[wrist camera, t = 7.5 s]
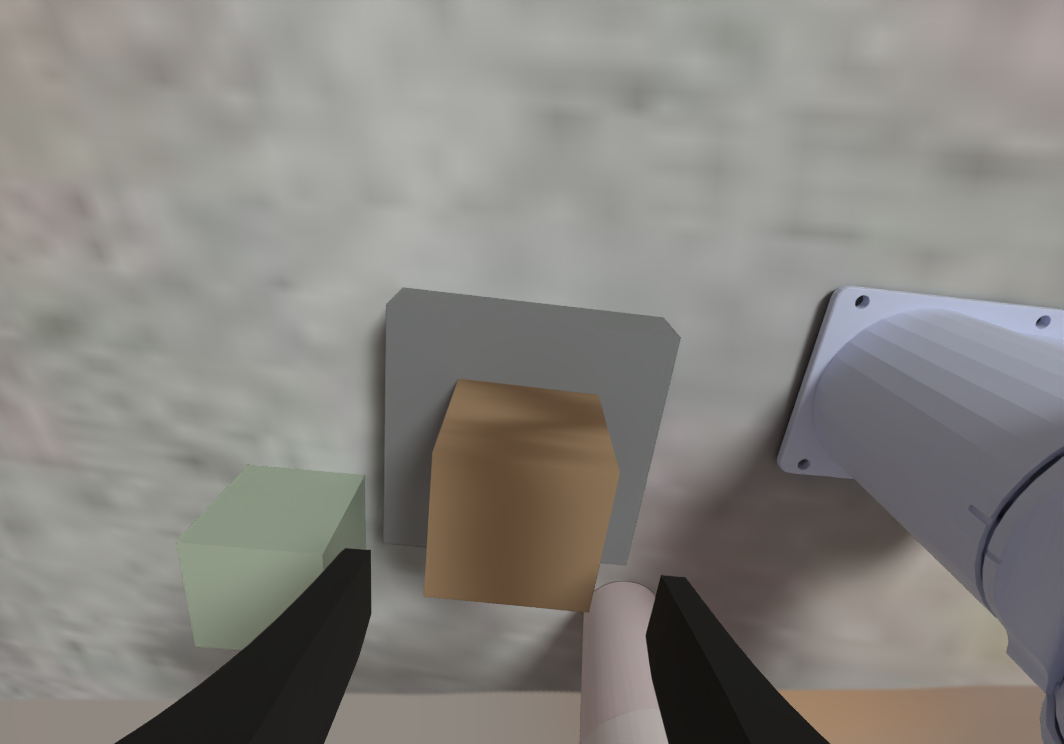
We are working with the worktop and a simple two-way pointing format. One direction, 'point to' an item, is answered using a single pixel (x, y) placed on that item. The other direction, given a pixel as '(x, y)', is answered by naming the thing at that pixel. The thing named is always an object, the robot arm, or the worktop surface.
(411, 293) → the charcoal slab
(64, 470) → the worktop surface
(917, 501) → the robot arm
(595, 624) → the smoothie
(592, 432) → the walnut cube
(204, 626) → the sage block
